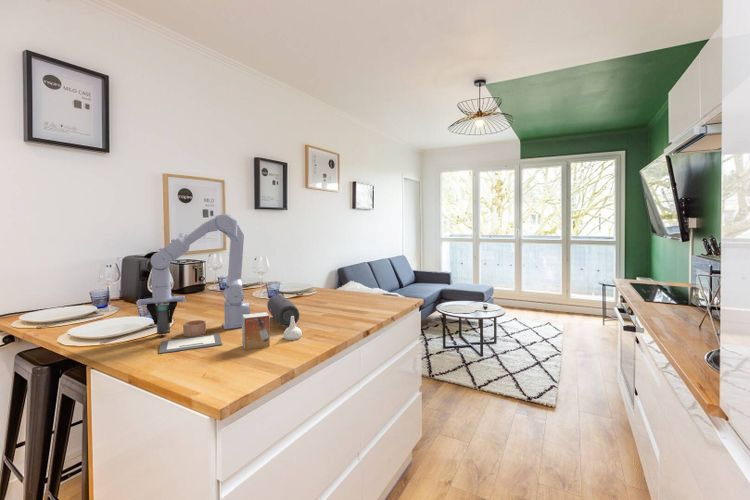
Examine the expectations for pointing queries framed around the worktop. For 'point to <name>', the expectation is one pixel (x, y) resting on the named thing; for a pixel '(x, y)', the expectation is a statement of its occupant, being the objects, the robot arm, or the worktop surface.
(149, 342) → the worktop surface
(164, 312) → the marker
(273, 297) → the bluetooth speaker
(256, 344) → the small box
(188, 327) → the pen cup
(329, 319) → the worktop surface
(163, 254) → the robot arm
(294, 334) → the garlic bulb
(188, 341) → the writing mat
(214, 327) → the worktop surface
